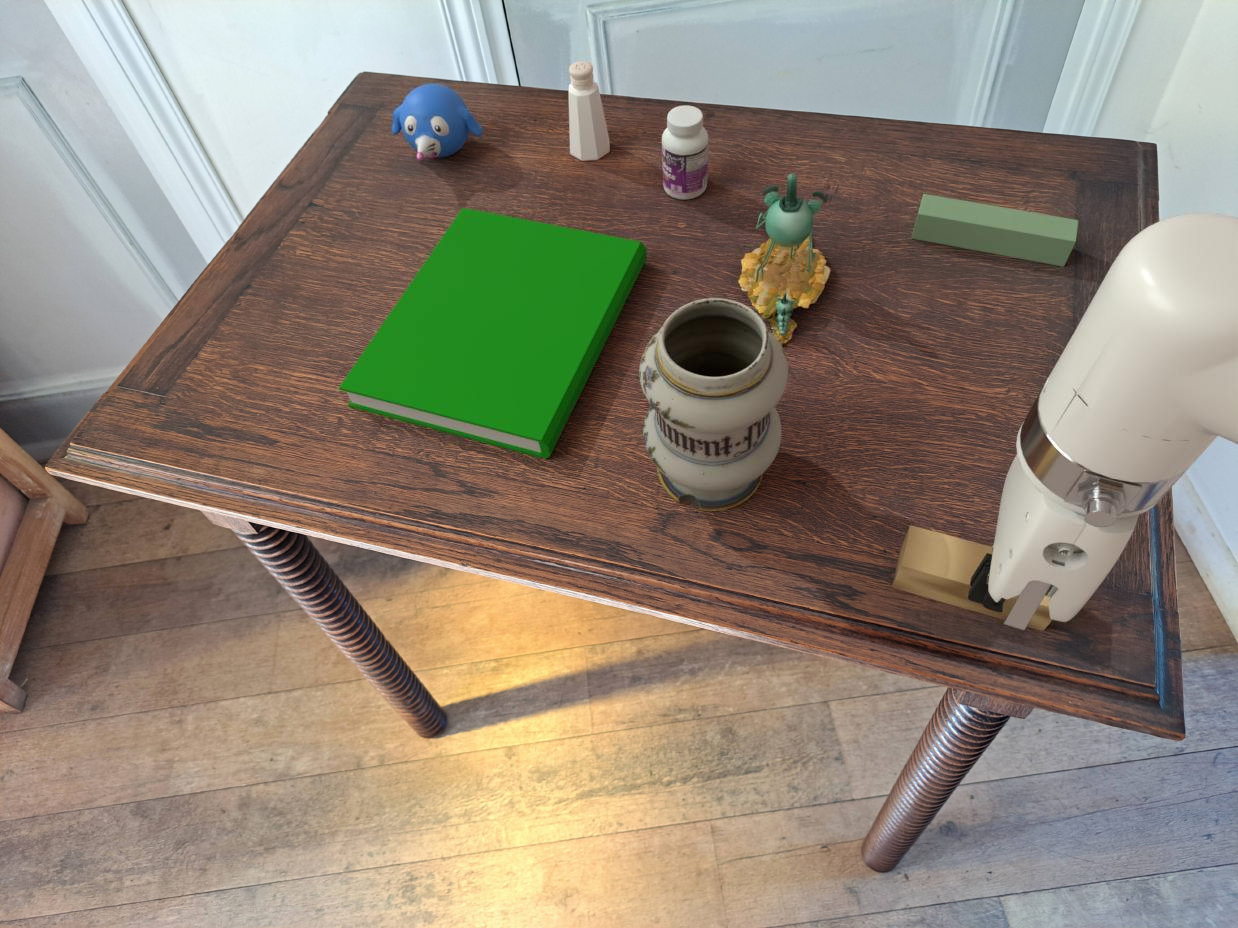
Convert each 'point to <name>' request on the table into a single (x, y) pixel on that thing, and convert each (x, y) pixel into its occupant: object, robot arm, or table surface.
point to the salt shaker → (586, 115)
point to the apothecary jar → (713, 402)
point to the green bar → (995, 230)
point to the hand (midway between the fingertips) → (992, 596)
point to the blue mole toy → (434, 121)
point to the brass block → (948, 571)
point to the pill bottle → (685, 153)
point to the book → (498, 331)
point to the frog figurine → (785, 260)
